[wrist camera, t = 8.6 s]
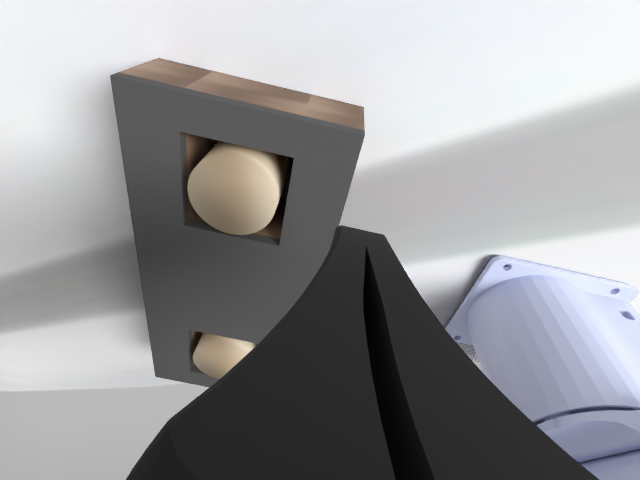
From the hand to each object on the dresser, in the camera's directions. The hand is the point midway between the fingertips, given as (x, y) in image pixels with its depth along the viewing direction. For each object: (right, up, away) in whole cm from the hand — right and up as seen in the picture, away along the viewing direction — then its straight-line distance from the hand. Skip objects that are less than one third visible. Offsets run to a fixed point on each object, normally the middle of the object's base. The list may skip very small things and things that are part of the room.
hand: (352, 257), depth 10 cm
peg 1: (-5, +4, +9) cm, 11 cm away
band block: (-6, 0, +13) cm, 14 cm away
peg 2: (-7, -6, +16) cm, 19 cm away
